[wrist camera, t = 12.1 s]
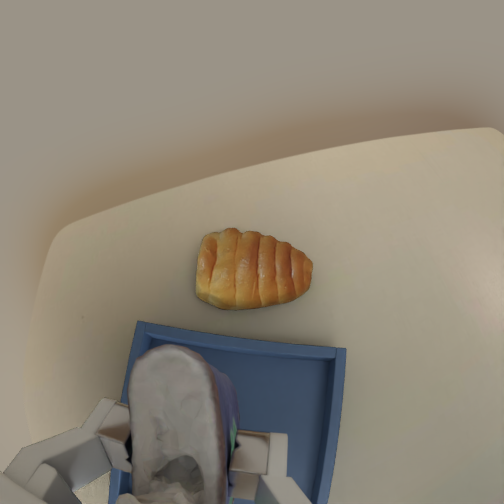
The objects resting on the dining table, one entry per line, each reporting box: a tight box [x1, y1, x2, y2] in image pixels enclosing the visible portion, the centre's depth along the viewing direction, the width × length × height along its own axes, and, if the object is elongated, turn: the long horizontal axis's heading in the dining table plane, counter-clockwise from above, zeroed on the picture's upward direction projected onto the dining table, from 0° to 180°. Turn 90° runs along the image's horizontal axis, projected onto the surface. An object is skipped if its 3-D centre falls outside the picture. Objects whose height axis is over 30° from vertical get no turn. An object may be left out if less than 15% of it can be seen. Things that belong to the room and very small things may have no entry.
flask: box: [116, 344, 240, 504], centre depth 8 cm, size 9×3×11 cm, turn 176°
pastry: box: [195, 228, 313, 310], centre depth 24 cm, size 9×7×4 cm
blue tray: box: [108, 321, 346, 504], centre depth 19 cm, size 16×16×3 cm
